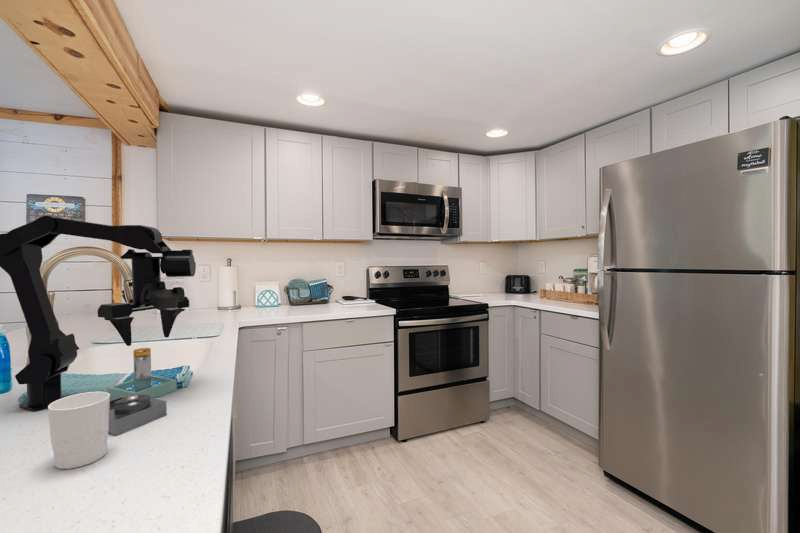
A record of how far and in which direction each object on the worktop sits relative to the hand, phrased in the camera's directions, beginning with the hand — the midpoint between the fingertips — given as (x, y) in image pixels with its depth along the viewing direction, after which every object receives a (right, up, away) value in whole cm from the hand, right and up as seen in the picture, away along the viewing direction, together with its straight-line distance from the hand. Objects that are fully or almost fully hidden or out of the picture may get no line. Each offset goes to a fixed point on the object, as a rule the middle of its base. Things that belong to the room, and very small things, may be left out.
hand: (148, 341), depth 90 cm
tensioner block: (+4, -14, -13) cm, 19 cm away
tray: (-2, -13, +1) cm, 14 cm away
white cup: (+7, -14, -28) cm, 32 cm away
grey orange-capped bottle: (-2, -13, +1) cm, 13 cm away
